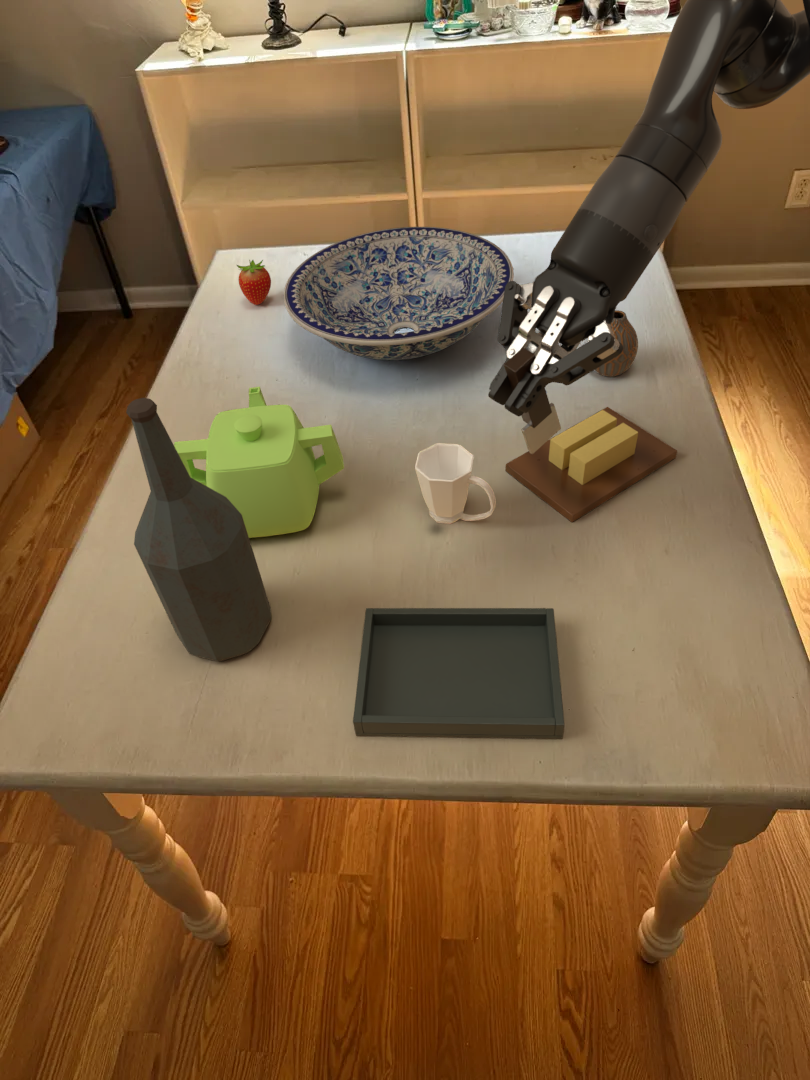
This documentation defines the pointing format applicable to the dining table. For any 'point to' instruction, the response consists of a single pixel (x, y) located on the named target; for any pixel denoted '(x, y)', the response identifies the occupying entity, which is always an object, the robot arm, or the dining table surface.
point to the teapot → (265, 464)
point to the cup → (449, 482)
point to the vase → (630, 346)
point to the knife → (542, 413)
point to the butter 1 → (579, 437)
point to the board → (584, 498)
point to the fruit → (254, 282)
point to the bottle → (196, 551)
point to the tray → (459, 673)
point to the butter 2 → (602, 453)
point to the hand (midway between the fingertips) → (503, 406)
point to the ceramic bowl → (398, 290)
